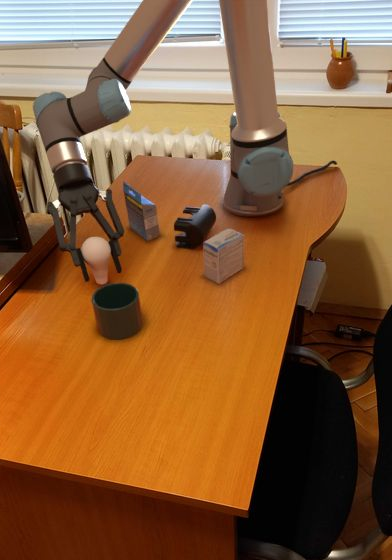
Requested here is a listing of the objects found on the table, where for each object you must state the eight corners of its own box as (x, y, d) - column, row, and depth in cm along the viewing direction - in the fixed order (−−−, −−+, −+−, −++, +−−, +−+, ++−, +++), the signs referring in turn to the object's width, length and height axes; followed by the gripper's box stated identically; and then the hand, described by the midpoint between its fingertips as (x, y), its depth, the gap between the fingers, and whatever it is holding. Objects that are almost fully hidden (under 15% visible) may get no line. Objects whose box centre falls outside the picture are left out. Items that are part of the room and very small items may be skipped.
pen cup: (135, 307, 111) (130, 278, 107) (148, 332, 105) (144, 302, 101) (93, 318, 109) (86, 289, 105) (104, 345, 103) (98, 315, 98)
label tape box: (160, 236, 132) (155, 188, 124) (146, 242, 131) (140, 193, 122) (142, 223, 138) (136, 175, 130) (128, 228, 136) (121, 180, 128)
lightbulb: (84, 291, 117) (74, 245, 109) (93, 275, 121) (83, 230, 114) (112, 292, 116) (103, 247, 108) (120, 276, 120) (112, 231, 113)
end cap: (204, 252, 126) (202, 225, 121) (175, 248, 128) (172, 222, 123) (216, 231, 133) (216, 205, 128) (189, 227, 135) (187, 201, 130)
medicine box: (229, 262, 122) (228, 226, 116) (244, 269, 120) (244, 233, 114) (204, 277, 118) (202, 241, 112) (219, 285, 116) (218, 249, 110)
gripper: (113, 168, 120) (145, 269, 119) (25, 186, 115) (57, 292, 114) (116, 152, 113) (150, 259, 112) (22, 171, 108) (57, 283, 107)
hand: (103, 275), depth 113 cm, fingers closed on lightbulb, 6 cm apart
